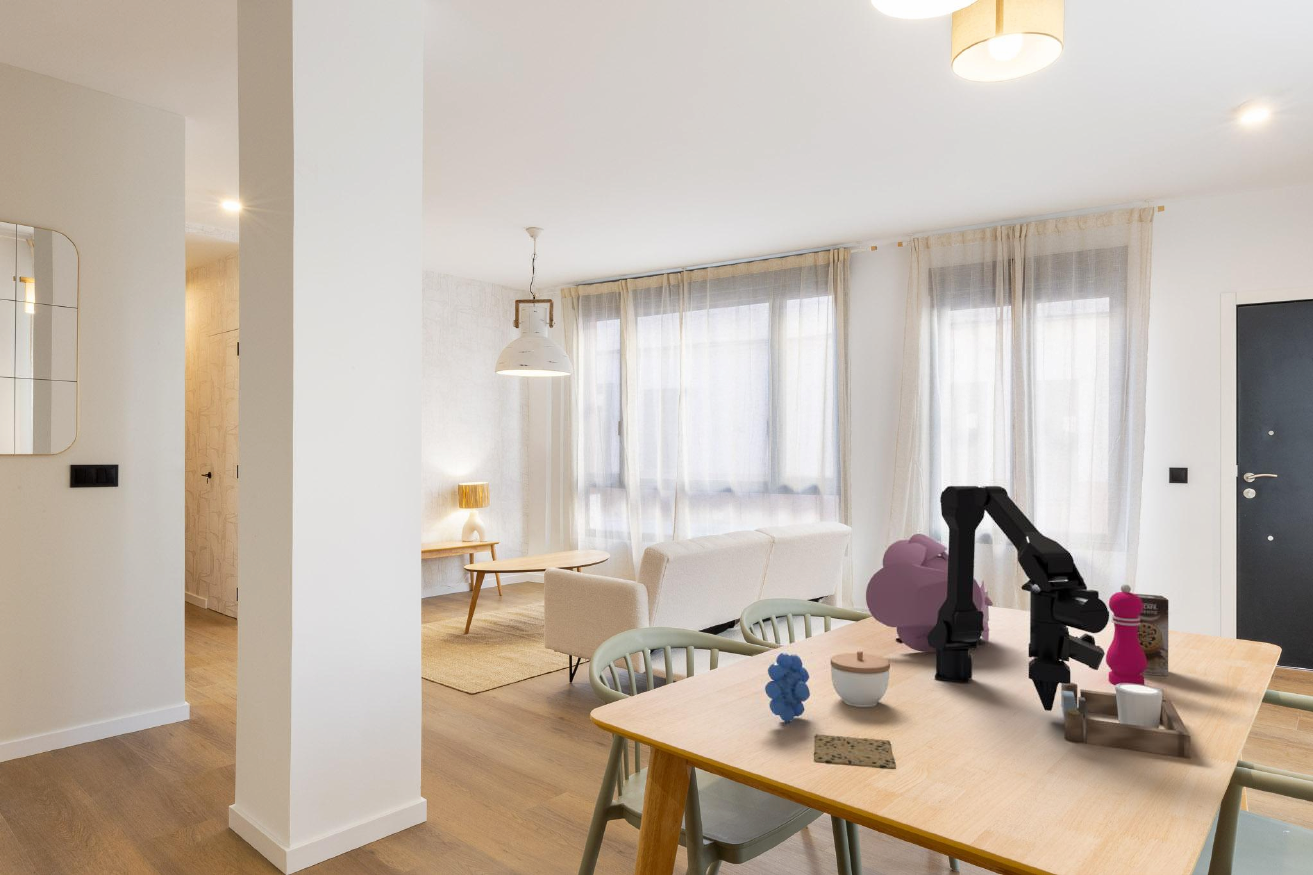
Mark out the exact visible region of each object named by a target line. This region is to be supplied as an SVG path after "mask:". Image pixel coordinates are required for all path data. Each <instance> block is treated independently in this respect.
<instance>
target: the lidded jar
mask: <svg viewBox="0 0 1313 875" xmlns="http://www.w3.org/2000/svg"><path fill="white" fill-rule="evenodd" d="M829 663H830V665H831V666H830V673H831V675H830V676H831V681H832V686H833V688H834V691H835V692H836V694H837V695H838V696H839V697H840V698H841V700H842V702H843V703H844V704H845V705H848V706H851V707H856V708H871V707H875V706H877V705H878V702H879V701H881V700H882V699H883V698H884V696H885V694H886V693H887V690H888V686H889V683H890V680H889V679H890V668H891V663H890V661H889V659H886V658H884V657H882V656H879V655H875V654H868V653H864V651H862V650H857V652H853V653H852V652H848V653H839V654H835V655H833V656H831V658H830V662H829Z"/></svg>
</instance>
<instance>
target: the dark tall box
mask: <svg viewBox="0 0 1313 875" xmlns="http://www.w3.org/2000/svg"><path fill="white" fill-rule="evenodd" d="M1118 592H1119V591H1118ZM1118 592H1115V593H1118ZM1134 594H1135V595H1137V596H1138V597H1139V598H1140V599H1141V600H1142V603H1143V611H1142V612H1141V613H1140V614H1139V616H1138V617H1139V618H1140V620H1139V621H1140V625H1138V631H1137V632H1138V640H1139V643H1140V645H1141V648H1142V650H1143V652H1144V654H1145V656H1146V660H1147V668H1146V670H1145V671H1144V672H1142V673H1141V674H1145V675H1154V676H1165V677H1168V676H1169V599H1167V598H1166V597H1164V596H1163V595H1156V594H1142V593H1134Z"/></svg>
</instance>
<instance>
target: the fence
mask: <svg viewBox="0 0 1313 875" xmlns="http://www.w3.org/2000/svg"><path fill="white" fill-rule="evenodd" d="M1060 685H1061V686H1060V688H1061V689H1060V690H1061V696H1060V697H1061V701H1060V702H1061V705H1060V706H1061V707H1062V690H1063V691H1071V692H1073V693H1074V697H1075V701H1076V705H1077V709H1078V711H1077V710H1072V709H1070V710H1068V711H1065V720H1064V739H1065V740H1066V741H1067V742H1069V743H1070V742H1071V743H1078V744H1079V743H1083V742H1084V719H1085V736H1086V737H1085V740H1086V744H1091V745H1097V746H1104V747H1111V748H1112V747H1113V748H1118V749H1125V750H1131V751H1132V750H1133V751H1139V752H1144V753H1145V752H1146V753H1153V754H1160V755H1167V756H1172V757H1179V758H1180V757H1181V758H1185V759H1186V758H1188V759H1191V758H1192V757H1191V756H1192V753H1191V750H1192V748H1191V741H1192V740H1191V734H1190V732H1189V731H1188V729H1187V726H1186V725H1185V723H1184V722H1183V720H1182V718H1181V716H1180V714H1179V712H1178V711H1177V709H1176V707H1175V706H1174V703H1173V701H1172V700H1171V699H1166V698H1164V699H1163V698H1162V703H1161V713H1160V722H1161V723H1162V726H1163V728H1160V727H1159V728H1152V727H1144V726H1137V725H1129V724H1122V723H1119V722H1113V721H1108V720H1107V721H1105V720H1098V719H1090V718H1086V712H1088V711H1089V712H1090V713H1096V714H1105V715H1110V716H1111V715H1112V716H1118V708H1117V699H1116V692H1105V691H1097V690H1091V689H1090V690H1089V689H1088V690H1087V689H1080V696H1078V684H1077V683H1075V682H1071V683H1070V684H1064V683H1060Z"/></svg>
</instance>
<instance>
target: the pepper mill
mask: <svg viewBox="0 0 1313 875" xmlns="http://www.w3.org/2000/svg"><path fill="white" fill-rule="evenodd" d="M1131 590H1132V588H1131V586H1130V585H1129V584H1122V585H1121V586H1120V591H1118V593H1116V592H1115V593H1114V594H1112V595H1111V596H1110V597H1109V600H1108V607H1109V610H1110V611H1111V612H1112V613H1113V614H1112V615H1111V618H1112V619H1111V622H1112V623H1113V625H1114V631H1113V639H1112V640H1111V643H1110V645H1109V647H1108V649H1107V651H1106V653H1105V654H1106V655H1105V663H1106V665H1107V666H1108V667H1109V668H1110V671H1109V672H1108V682H1109V683H1110V684H1112V685H1114V686H1115V685H1117V684H1122V683H1130V684H1140V685H1145V676H1144V675H1143V673H1142V672H1144V671H1145V670H1146V668H1147V660H1146V656H1145V654H1144V652H1143V650H1142V648H1141V645H1140V643H1139V640H1138V632H1137V631H1138V625H1140V621H1139V620H1140V618H1139V617H1138V616H1139V614H1140V613H1141V612H1142V611H1143V603H1142V600H1141V599H1140V598H1139V597H1138V596H1137V595H1135V594H1136V593H1133V592H1131Z"/></svg>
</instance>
